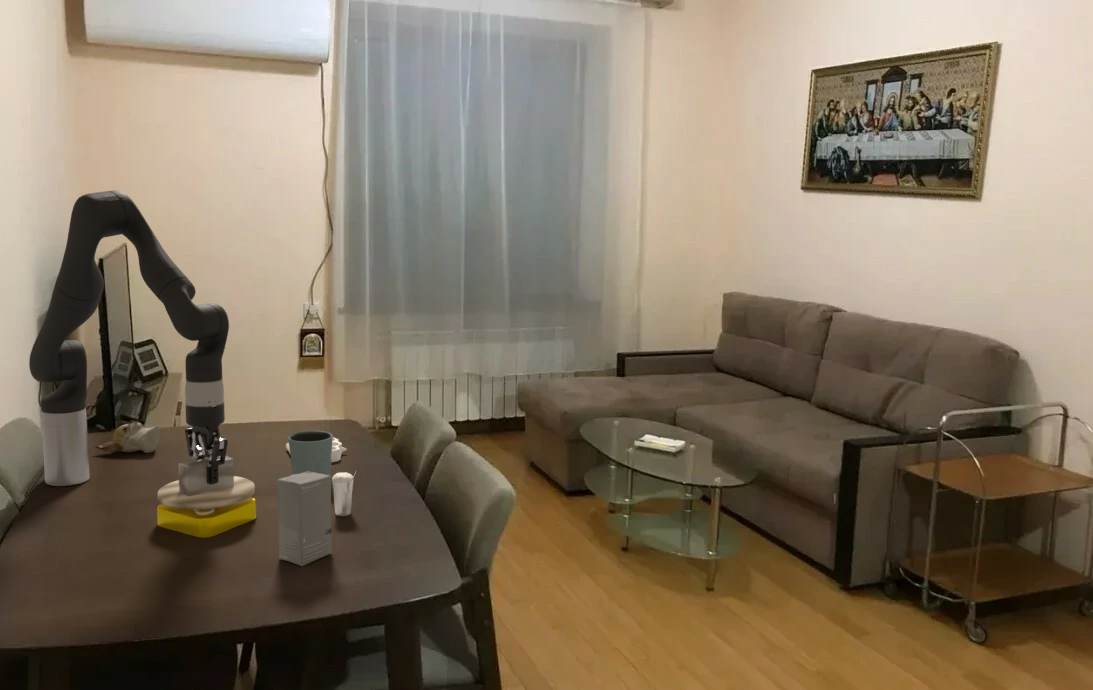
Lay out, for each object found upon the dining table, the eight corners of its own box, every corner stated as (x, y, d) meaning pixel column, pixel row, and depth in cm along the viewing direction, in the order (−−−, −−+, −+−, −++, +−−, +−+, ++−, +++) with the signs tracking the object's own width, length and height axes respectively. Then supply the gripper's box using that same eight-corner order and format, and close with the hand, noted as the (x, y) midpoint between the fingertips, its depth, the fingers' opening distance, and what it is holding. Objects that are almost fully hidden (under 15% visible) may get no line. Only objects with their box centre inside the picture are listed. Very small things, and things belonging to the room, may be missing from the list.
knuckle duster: (284, 448, 245) (337, 443, 252) (295, 467, 229) (353, 461, 236) (283, 436, 245) (337, 432, 251) (295, 454, 229) (352, 449, 235)
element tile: (260, 518, 193) (260, 496, 192) (205, 540, 179) (204, 517, 179) (210, 505, 199) (209, 484, 199) (153, 526, 186) (152, 504, 185)
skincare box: (301, 567, 167) (300, 485, 165) (275, 558, 171) (273, 478, 168) (334, 553, 174) (334, 474, 172) (308, 545, 178) (307, 467, 176)
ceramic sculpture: (148, 424, 230) (91, 425, 231) (151, 457, 231) (94, 458, 232) (167, 415, 241) (112, 416, 241) (170, 446, 242) (115, 447, 243)
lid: (141, 492, 188) (140, 460, 187) (226, 474, 202) (225, 443, 201) (184, 515, 175) (183, 481, 174) (272, 494, 189) (271, 462, 188)
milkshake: (351, 518, 193) (351, 473, 192) (328, 516, 194) (328, 471, 193) (360, 511, 198) (360, 467, 196) (337, 509, 199) (337, 465, 197)
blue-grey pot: (341, 485, 215) (341, 436, 213) (304, 494, 208) (303, 443, 206) (317, 475, 222) (317, 428, 220) (280, 483, 215) (279, 435, 213)
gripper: (170, 397, 187) (173, 476, 190) (204, 409, 178) (206, 493, 181) (205, 392, 193) (207, 469, 196) (239, 404, 183) (241, 485, 186)
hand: (207, 480), depth 188 cm, fingers open, 4 cm apart
